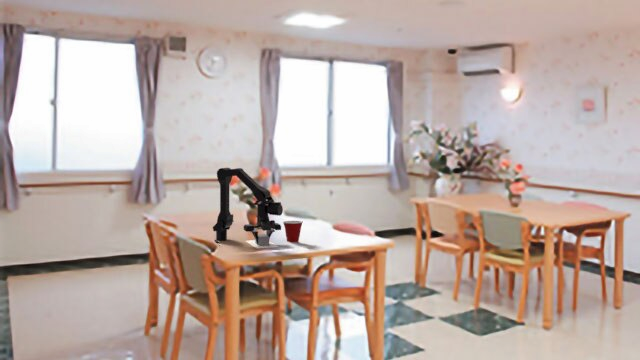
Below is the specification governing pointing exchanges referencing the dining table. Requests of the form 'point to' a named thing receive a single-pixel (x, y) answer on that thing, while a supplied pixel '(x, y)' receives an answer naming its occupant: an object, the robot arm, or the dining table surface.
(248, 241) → the primed board
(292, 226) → the plastic cup
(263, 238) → the block
